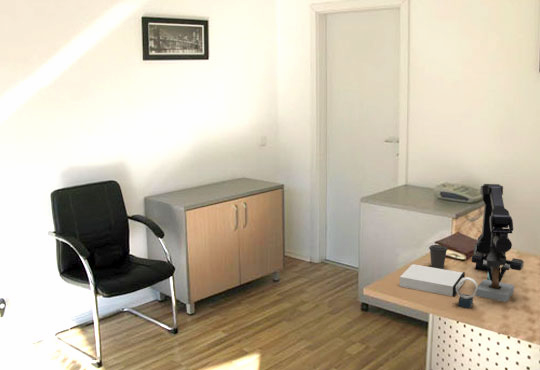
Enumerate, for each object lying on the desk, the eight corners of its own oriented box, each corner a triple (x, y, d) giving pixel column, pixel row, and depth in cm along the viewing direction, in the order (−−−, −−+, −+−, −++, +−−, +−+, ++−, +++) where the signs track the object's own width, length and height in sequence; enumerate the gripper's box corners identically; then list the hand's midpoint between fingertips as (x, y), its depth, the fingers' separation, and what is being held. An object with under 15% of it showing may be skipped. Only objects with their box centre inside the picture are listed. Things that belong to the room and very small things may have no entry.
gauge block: (475, 295, 244) (475, 288, 243) (483, 286, 253) (483, 279, 253) (507, 302, 237) (507, 295, 237) (513, 291, 247) (514, 285, 246)
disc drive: (454, 298, 243) (455, 286, 242) (399, 287, 254) (399, 276, 253) (464, 283, 258) (465, 272, 257) (412, 274, 269) (412, 263, 268)
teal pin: (486, 284, 255) (486, 273, 254) (487, 282, 258) (488, 271, 256) (493, 285, 254) (493, 274, 253) (494, 283, 256) (495, 272, 255)
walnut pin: (490, 288, 244) (492, 267, 242) (492, 286, 247) (493, 265, 245) (497, 290, 243) (499, 268, 241) (499, 287, 245) (501, 266, 243)
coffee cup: (432, 262, 281) (433, 242, 279) (449, 266, 276) (450, 245, 274) (425, 268, 274) (426, 246, 272) (442, 271, 270) (444, 250, 268)
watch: (456, 300, 239) (457, 273, 237) (477, 304, 236) (479, 277, 233) (453, 305, 234) (454, 278, 232) (474, 309, 231) (476, 282, 228)
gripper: (468, 245, 239) (466, 283, 242) (519, 253, 229) (516, 292, 233) (476, 238, 248) (473, 274, 252) (525, 245, 238) (521, 283, 242)
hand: (495, 281), depth 244 cm, fingers closed on walnut pin, 3 cm apart
